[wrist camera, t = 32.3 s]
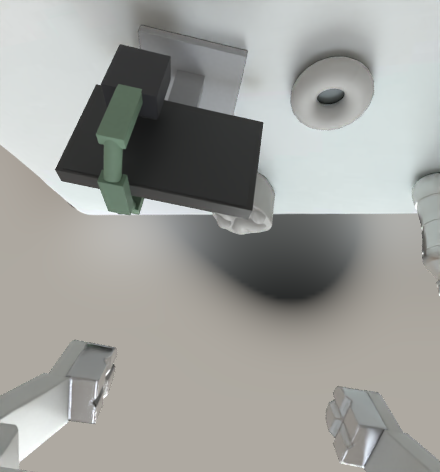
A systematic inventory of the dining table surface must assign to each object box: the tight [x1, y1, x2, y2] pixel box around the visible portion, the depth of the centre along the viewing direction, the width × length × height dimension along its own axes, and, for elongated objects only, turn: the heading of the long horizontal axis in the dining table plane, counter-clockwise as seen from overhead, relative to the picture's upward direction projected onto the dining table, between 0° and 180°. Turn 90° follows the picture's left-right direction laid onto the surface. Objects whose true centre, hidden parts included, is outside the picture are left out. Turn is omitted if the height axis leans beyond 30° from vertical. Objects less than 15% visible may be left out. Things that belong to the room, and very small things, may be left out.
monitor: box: [55, 25, 263, 219], centre depth 37 cm, size 10×20×20 cm, turn 82°
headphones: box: [96, 44, 171, 215], centre depth 34 cm, size 13×5×14 cm, turn 172°
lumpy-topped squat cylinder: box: [213, 173, 275, 234], centre depth 60 cm, size 10×13×9 cm
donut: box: [290, 57, 374, 130], centre depth 39 cm, size 10×4×10 cm
